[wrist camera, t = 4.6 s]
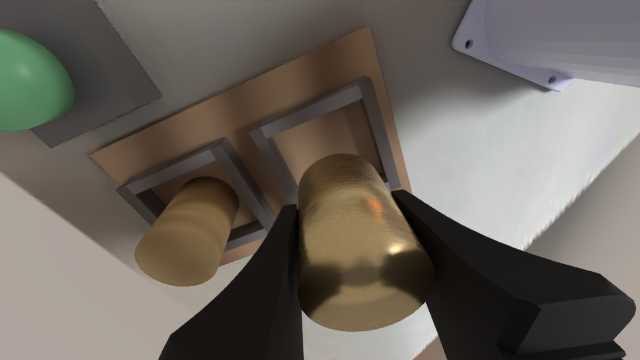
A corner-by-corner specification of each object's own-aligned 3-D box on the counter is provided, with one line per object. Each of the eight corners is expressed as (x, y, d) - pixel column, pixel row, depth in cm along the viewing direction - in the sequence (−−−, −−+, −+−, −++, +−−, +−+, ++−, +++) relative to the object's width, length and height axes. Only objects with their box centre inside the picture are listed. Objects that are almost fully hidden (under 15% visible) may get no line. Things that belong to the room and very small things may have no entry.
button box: (85, -12, 13) (34, -23, 11) (162, 95, 16) (136, 107, 14) (0, 37, 14) (-68, 37, 11) (88, 131, 17) (50, 148, 14)
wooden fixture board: (365, 25, 15) (411, 18, 9) (408, 189, 21) (451, 249, 15) (99, 149, 18) (-5, 208, 12) (207, 263, 24) (177, 339, 18)
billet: (375, 143, 12) (435, 222, 7) (384, 214, 14) (435, 316, 9) (287, 165, 12) (278, 259, 7) (309, 232, 14) (316, 342, 9)
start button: (16, 11, 10) (-34, 7, 9) (94, 101, 12) (64, 110, 11) (-54, 52, 11) (-113, 54, 9) (31, 132, 13) (-5, 145, 11)
